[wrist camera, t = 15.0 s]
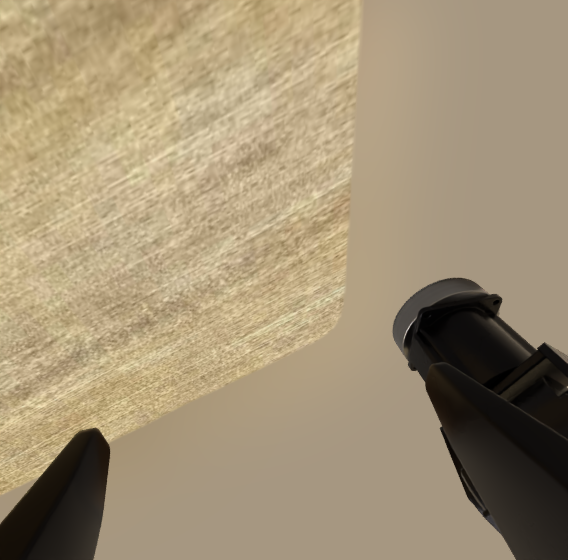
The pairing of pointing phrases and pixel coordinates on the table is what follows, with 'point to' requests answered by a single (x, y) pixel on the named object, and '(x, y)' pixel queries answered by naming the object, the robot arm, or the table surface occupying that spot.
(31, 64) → the table surface
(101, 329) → the table surface
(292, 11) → the table surface
